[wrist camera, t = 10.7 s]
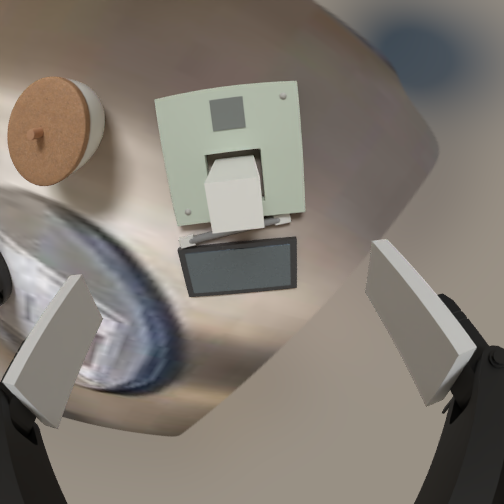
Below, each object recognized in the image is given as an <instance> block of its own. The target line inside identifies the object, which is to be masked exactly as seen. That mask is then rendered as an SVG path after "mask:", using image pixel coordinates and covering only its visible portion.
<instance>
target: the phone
mask: <svg viewBox="0 0 504 504" xmlns="http://www.w3.org/2000/svg"><path fill="white" fill-rule="evenodd" d="M178 254H179V258H180V262H181V266H182V270H183V274H184V278H185V282H186V286H187V290H188V294H189V297H196V296H210V295H223V294H235V293H247V292H258V291H268V290H278V289H288V288H297V239H296V237H285V238H274V239H263V240H252V241H241V242H230V243H220V244H209V245H199V246H190V247H186V248H181V247H179V248H178Z"/></svg>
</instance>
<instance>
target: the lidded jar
mask: <svg viewBox="0 0 504 504" xmlns="http://www.w3.org/2000/svg"><path fill="white" fill-rule="evenodd" d="M104 128H105V113H104V109H103V105H102V103H101V101H100V99H99V97H98V96H97V94H96V93H95V92H94V91H93V90H92V89H91V88H90V87H88V86H87V85H85V84H83V83H81V82H79V81H76V80H72V79H66V78H61V77H46V78H42V79H40V80H37V81H35V82H34V83H33V84H31V85H30V86H29V87H28V88H27V89H26V90H25V91H24V92H23V93H22V94H21V96H20V97H19V98H18V100H17V102H16V104H15V106H14V108H13V110H12V113H11V116H10V120H9V124H8V148H9V153H10V157H11V159H12V162H13V164H14V166H15V168H16V169H17V171H18V172H19V173H20V174H21V175H22V176H23V177H24V178H25V179H26V180H28V181H29V182H31V183H33V184H35V185H39V186H49V185H54V184H56V183H58V182H60V181H62V180H63V179H65V178H66V177H68V176H69V175H70V174H72V173H74V172H75V171H77V170H78V169H79V168H81V167H82V166H83V165H84V164H85V163H86V162H87V161H88V160H89V159H90V158H91V157H92V156H93V154H94V153H95V151H96V150H97V148H98V146H99V144H100V142H101V139H102V136H103V133H104Z"/></svg>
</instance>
